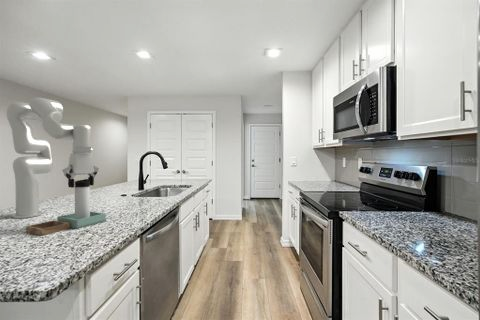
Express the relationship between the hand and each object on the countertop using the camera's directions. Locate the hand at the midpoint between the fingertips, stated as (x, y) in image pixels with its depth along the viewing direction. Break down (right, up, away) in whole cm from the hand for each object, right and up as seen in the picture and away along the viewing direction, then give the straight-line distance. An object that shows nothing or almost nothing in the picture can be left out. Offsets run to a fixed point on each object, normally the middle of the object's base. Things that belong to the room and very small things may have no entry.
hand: (81, 186), depth 126 cm
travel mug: (0, -17, +1) cm, 17 cm away
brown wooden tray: (-7, -18, -12) cm, 23 cm away
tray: (0, -18, 0) cm, 18 cm away
